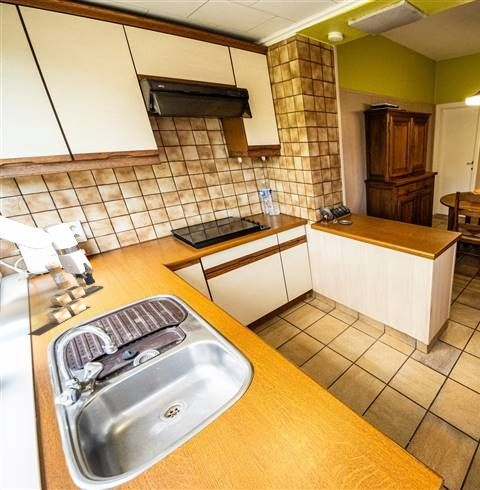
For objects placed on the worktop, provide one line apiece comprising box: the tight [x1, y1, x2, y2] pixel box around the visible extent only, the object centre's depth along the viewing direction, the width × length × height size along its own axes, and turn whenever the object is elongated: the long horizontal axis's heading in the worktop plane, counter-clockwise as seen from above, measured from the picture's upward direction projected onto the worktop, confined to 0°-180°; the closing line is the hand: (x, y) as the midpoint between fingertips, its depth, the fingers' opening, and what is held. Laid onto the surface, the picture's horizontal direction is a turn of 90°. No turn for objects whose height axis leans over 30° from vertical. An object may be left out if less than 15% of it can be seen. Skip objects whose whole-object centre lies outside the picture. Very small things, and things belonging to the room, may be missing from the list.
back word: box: [48, 285, 104, 309], centre depth 125 cm, size 18×6×6 cm, turn 171°
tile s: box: [75, 276, 97, 288], centre depth 128 cm, size 4×4×4 cm
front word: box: [27, 299, 91, 337], centre depth 108 cm, size 18×6×6 cm, turn 171°
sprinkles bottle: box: [44, 261, 71, 290], centre depth 133 cm, size 5×5×14 cm
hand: (87, 283), depth 129 cm, fingers closed on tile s, 4 cm apart
